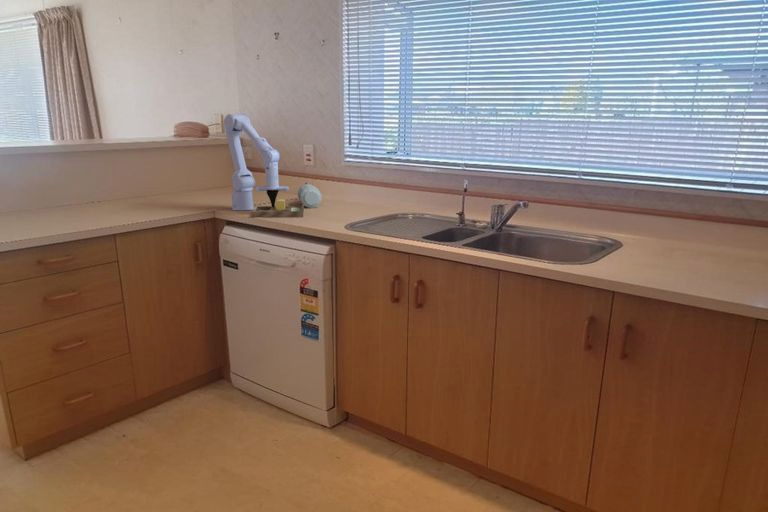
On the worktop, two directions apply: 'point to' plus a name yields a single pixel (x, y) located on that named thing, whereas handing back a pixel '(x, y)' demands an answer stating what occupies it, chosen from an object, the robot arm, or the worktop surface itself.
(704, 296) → the worktop surface
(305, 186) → the device
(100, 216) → the worktop surface
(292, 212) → the tray
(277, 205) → the block
